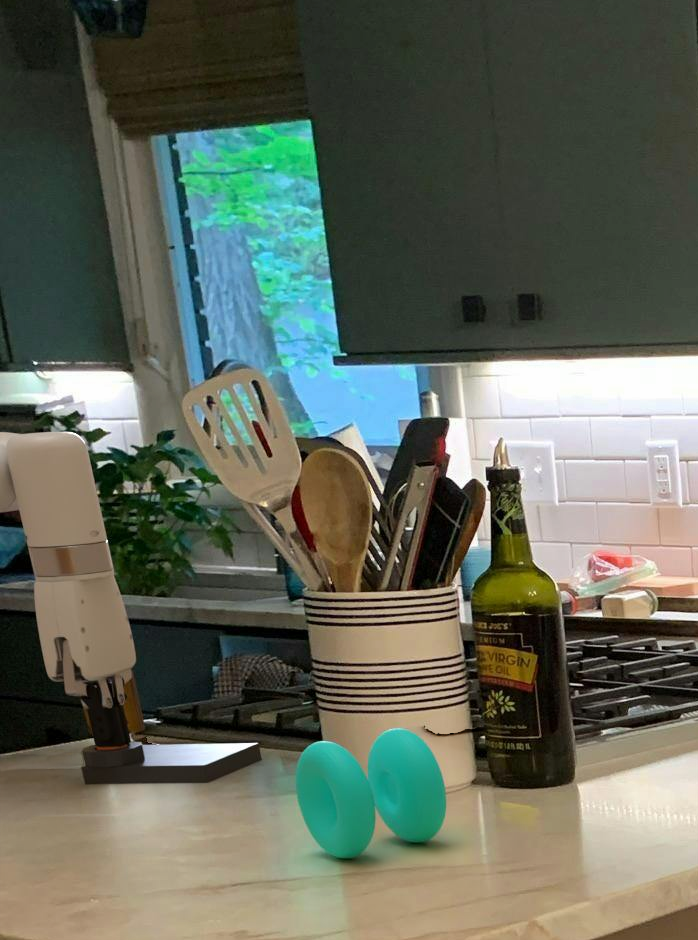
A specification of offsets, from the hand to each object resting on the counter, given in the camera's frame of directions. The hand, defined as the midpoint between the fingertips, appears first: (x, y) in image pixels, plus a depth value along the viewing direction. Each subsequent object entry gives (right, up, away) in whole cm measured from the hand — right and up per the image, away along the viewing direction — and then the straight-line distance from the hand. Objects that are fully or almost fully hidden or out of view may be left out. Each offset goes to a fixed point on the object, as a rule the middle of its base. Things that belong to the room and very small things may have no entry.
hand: (113, 744), depth 204 cm
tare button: (0, -1, +1) cm, 2 cm away
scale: (+5, -2, +4) cm, 7 cm away
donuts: (+38, -18, -33) cm, 54 cm away
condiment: (-8, +4, +20) cm, 22 cm away
